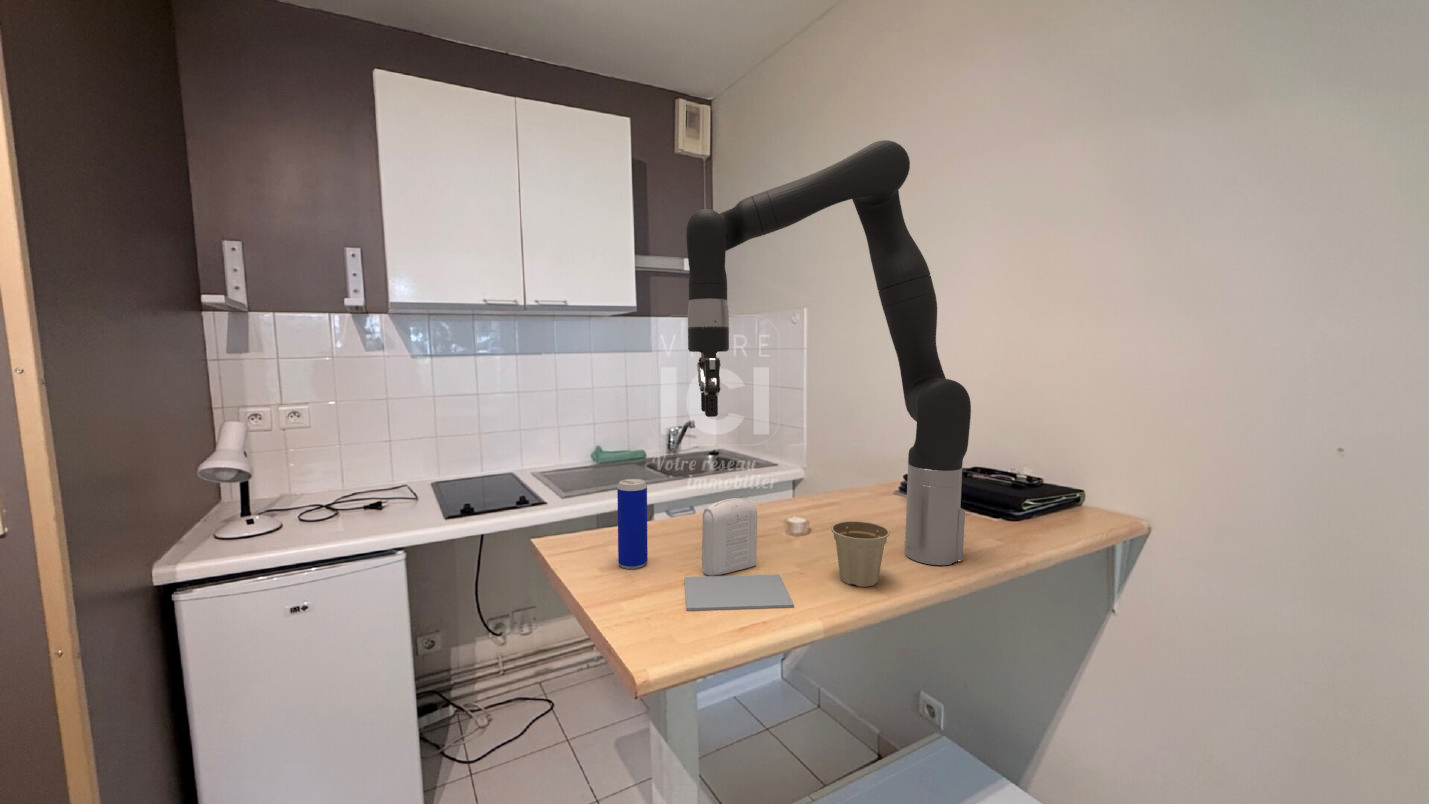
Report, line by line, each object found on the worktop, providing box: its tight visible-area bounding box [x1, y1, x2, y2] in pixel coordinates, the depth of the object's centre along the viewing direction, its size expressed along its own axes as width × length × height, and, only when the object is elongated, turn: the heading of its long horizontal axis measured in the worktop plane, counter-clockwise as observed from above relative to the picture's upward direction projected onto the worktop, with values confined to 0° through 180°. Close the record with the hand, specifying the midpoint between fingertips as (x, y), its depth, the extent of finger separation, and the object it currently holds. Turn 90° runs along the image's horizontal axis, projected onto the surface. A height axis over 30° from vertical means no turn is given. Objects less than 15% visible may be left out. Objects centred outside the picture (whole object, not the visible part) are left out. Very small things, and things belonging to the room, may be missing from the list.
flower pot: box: [830, 520, 891, 588], centre depth 90 cm, size 9×9×9 cm
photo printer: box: [701, 497, 758, 576], centre depth 94 cm, size 10×4×12 cm, turn 124°
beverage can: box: [616, 478, 649, 570], centre depth 95 cm, size 5×5×15 cm
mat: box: [684, 573, 795, 612], centre depth 85 cm, size 16×11×1 cm
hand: (709, 413), depth 100 cm, fingers open, 8 cm apart
